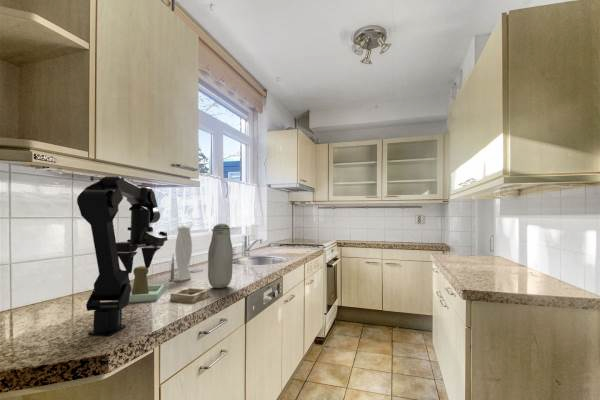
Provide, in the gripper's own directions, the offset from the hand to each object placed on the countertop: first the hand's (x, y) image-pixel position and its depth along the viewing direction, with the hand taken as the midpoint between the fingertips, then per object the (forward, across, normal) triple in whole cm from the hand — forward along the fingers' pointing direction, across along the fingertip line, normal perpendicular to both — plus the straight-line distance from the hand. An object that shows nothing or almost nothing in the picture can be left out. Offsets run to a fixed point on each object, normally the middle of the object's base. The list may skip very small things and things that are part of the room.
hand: (138, 270), depth 100 cm
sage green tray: (+13, +14, +9) cm, 21 cm away
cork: (+13, +14, +9) cm, 21 cm away
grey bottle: (+13, +32, -16) cm, 38 cm away
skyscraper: (+13, +44, +8) cm, 47 cm away
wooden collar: (+13, +15, -11) cm, 23 cm away
